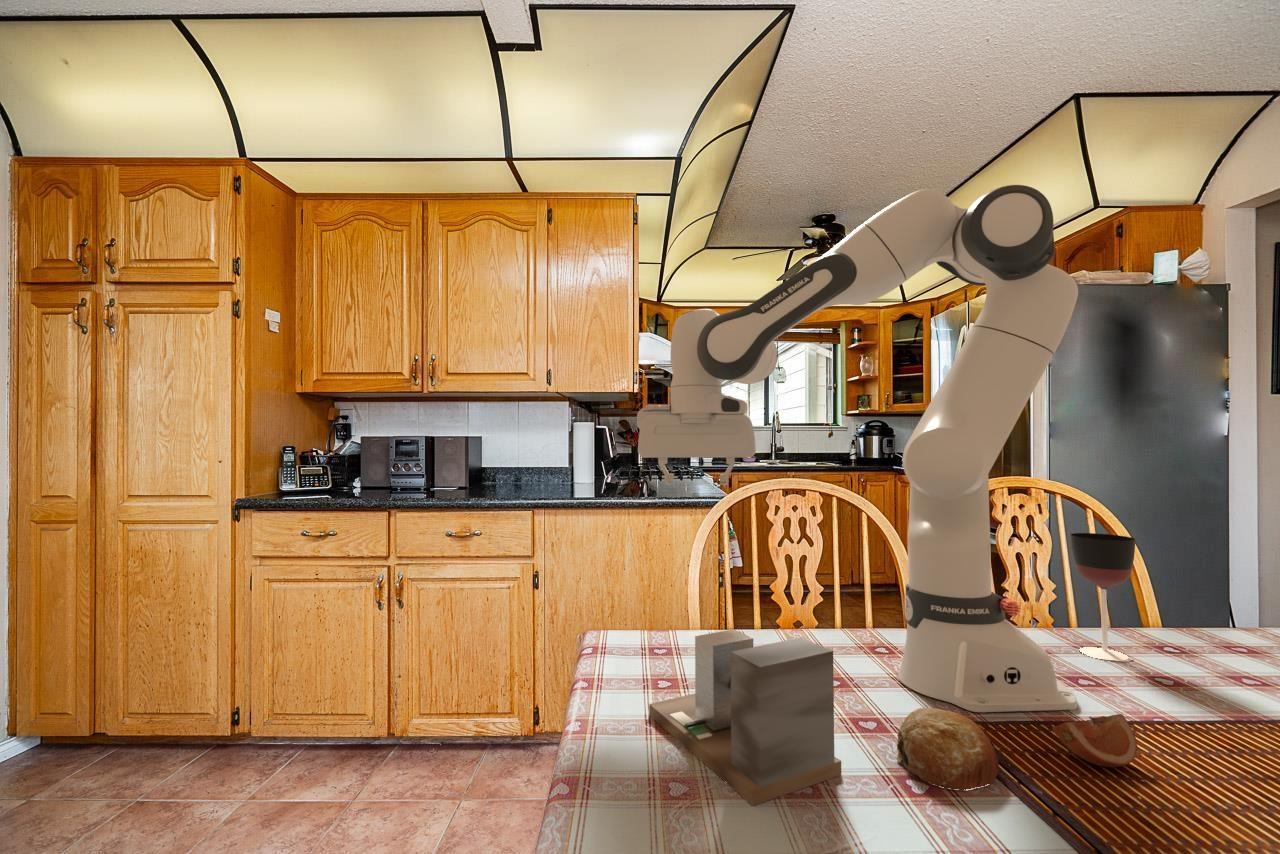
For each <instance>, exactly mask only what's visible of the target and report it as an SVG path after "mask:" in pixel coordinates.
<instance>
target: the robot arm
mask: <svg viewBox="0 0 1280 854" xmlns="http://www.w3.org/2000/svg"><path fill="white" fill-rule="evenodd" d="M1054 226H1055V225H1054V214H1053V209H1052V205H1051V203H1050V201H1049V200H1048V198H1047V197H1046V196H1045V195H1044V194H1043V193H1042V192H1041V191H1040V190H1038V189H1036V188H1034V187H1031V186H1028V185H1024V184H1010V185H1004V186H1001V187H997V188H995V189H993V190H990V191H989V192H987V193H984V194H983V195H982V196H980V197H979V198H978V199H976V200H975V201H974V202H973V203H972V204H971V205H970V207H969V208H962V207H959V206H957V205H955V204H954V203H953V201H952V200H951V199H950V198H949V197H948V196H947V195H945V194H944V193H942V192H940V191H939V190H936V189H934V188H933V189H932V188H922V189H918V190H915V191H914V192H911V193H909V194H907V195H905V196H904V197H902V198H900V199H898V200H897V201H895V202H893V203H891V204H889V205H888V206H887V207H884V208H883V209H882V210H881V211H879V212H877V213H876V214H875V215H873V216H872V217H870V218H869V219H868V220H865V222H864V223H862V224H861V225H859V226H858V227H856V229H854V230H853V231H852V232H851V233H849V234H848V235H847V236H846V237H844V238H843V239H842V240H840V241H839V242H838V243H836V244H835V245H834V246H833V247H832V248H830V249H829V250H828V251H826V252H825V253H824V254H823V255H821V256H820V257H819V258H817V259H816V260H815V261H814V262H812V263H810V264H808V265H807V266H805V267H804V268H802V269H800V270H799V271H798V272H797V273H795V274H793V275H792V276H790V277H788V279H786V280H784V281H783V282H782V283H780V284H778V285H777V286H775V287H773V288H772V289H771V290H770V291H768V292H767V293H765V294H764V295H762V296H761V297H760V298H758V299H757V300H755V301H754V302H752V303H750V304H748V305H747V306H744V307H742V308H740V309H739V308H738V309H736V310H732V311H727V312H724V313H721V314H720V313H718V312H717V311H716V310H714V309H710V308H702V309H701V308H698V309H693V310H689V311H687V312H685V313H683V314H681V315H679V316H678V317H677V318H676V319H675V321H674V323H673V326H672V331H671V332H672V333H671V338H670V339H671V340H670V367H671V370H672V379H671V383H670V404H659V405H653V404H647V405H645V406H644V407H642V408H641V409H639V410H638V412H637V414H636V427H637V428H638V430H639V434H638V441H637V443H638V444H637V453H638V455H639V456H640V457H641V458H657V460H658V461H657V462H658V466H659V468H660V470H661V472H662V473H663V474H664V484H665V485H674V484H675V480H674V477H675V473H669V470H668V469H667V466H666V464H668V458H725V459H726V465H728V466H727V469H726V470H725V472H724V473H720V474H719V485H726V486H727V485H729V475H730V473H731V471H732V470H733V468H734V466H735V465H736V464H735V462H736V461H735V459H736V458H752V457H754V455H755V454H756V438H755V432H754V425H753V422H752V420H751V419H750V417H749V416H747V415H746V414H747V412H748V408H749V407H748V403H747V402H746V401H745V400H743V399H739V398H735V397H733V396H732V395H731V396H729V395H726V394H723V393H722V384H723V382H724V381H732V382H733V383H738V384H744V385H751V384H756V383H759V382H763V380H765V379H767V378H768V377H769V376H770V375H772V373H773V371H774V370H775V368H776V365H777V363H778V354H779V353H778V349H777V346H776V344H775V342H774V341H775V340H776V339H777V338H779V337H781V336H782V335H784V333H786V332H788V331H789V330H791V329H793V328H794V327H795V326H797V325H798V324H800V323H801V322H802V321H804V320H806V319H808V318H809V317H810V316H812V315H814V314H815V313H817V312H819V311H820V310H823V309H825V308H828V307H832V306H838V305H853V306H854V305H855V306H863V305H867V304H869V303H871V302H873V301H876V300H878V299H880V298H881V297H884V296H885V295H887V294H889V293H891V292H893V291H894V290H895V289H897V288H898V287H900V286H902V285H903V283H905V282H907V281H908V280H909V279H911V278H912V277H914V276H915V275H916V274H918V273H920V272H921V271H922V270H924V269H925V268H927V267H928V266H930V265H932V264H935V263H936V264H937V265H938V266H939V267H941V268H943V269H944V270H946V271H947V272H948V273H950V274H952V275H954V276H955V277H956V278H958V279H959V280H961V281H962V282H964V283H967V284H969V285H974V286H980V287H981V286H983V287H984V286H985V291H986V295H985V301H984V304H983V307H982V309H981V310H980V313H979V315H978V316H977V318H976V320H975V321H974V323H973V325H972V327H971V329H970V331H969V332H968V335H967V336H966V339H965V340H964V342H963V343H962V345H961V347H960V350H959V351H958V353H957V355H956V357H955V359H954V361H953V362H952V365H951V367H950V369H949V370H948V372H947V374H946V376H945V378H944V380H943V381H942V382H941V384H940V385H939V387H938V389H937V391H936V392H935V394H934V395H933V397H932V399H931V401H930V402H929V404H928V405H927V408H926V409H925V411H924V412H923V414H922V416H921V418H920V420H919V421H918V423H917V424H916V427H915V428H914V430H913V432H912V434H911V436H910V438H909V439H908V441H907V442H906V444H905V447H904V449H903V453H902V467H903V472H904V475H905V476H906V478H907V480H908V481H909V484H910V485H909V505H908V506H909V507H908V509H909V511H908V523H907V524H908V525H907V567H908V568H907V570H908V571H907V573H908V576H907V577H908V579H907V580H908V583H907V584H905V593H904V594H905V595H904V616H905V622H906V623H907V624H906V625H907V626H906V628H907V629H906V638H905V645H904V650H903V656H902V661H901V664H900V668H899V670H898V675H897V678H898V679H899V681H900V682H901V683H902V684H903V685H904V686H906V687H907V688H909V689H911V690H913V691H914V692H917V693H919V694H922V695H924V696H927V697H930V698H933V699H937V700H940V701H943V702H947V703H950V704H953V705H954V706H955V705H956V706H958V707H960V708H962V709H965V710H967V711H969V712H974V713H994V712H996V713H999V712H1033V711H1063V710H1064V711H1067V710H1068V711H1069V710H1077V708H1078V702H1077V701H1078V700H1077V697H1076V695H1075V693H1073V691H1072V690H1071V689H1069V687H1068V686H1066V685H1065V684H1064V683H1062V682H1061V681H1059V680H1058V679H1057V677H1056V672H1055V668H1054V665H1053V662H1052V659H1051V657H1050V656H1049V655H1050V654H1048V653H1047V651H1046V650H1045V649H1044V648H1043V647H1042V646H1041V645H1040V644H1039V643H1037V642H1036V641H1034V640H1033V639H1032V638H1031V637H1030V636H1028V635H1027V634H1026V633H1025V632H1024V631H1022V630H1021V629H1020V628H1018V627H1016V625H1014V624H1012V623H1011V622H1010V621H1008V619H1006V614H1008V615H1009V616H1010V617H1011V616H1012V617H1015V616H1018V615H1019V614H1020V613H1021V605H1020V604H1019V603H1018V602H1016V601H1014V600H1013V599H1011V598H1003V597H1002V596H1000V595H998V594H997V593H996V592H993V591H992V572H991V571H992V562H991V561H992V560H991V559H992V558H991V556H992V555H991V525H990V524H991V523H990V520H991V519H990V518H991V517H990V490H989V489H990V487H989V486H990V483H989V474H990V471H991V470H992V468H993V466H994V464H995V462H996V461H997V459H998V457H999V455H1000V453H1001V451H1002V449H1003V448H1004V446H1005V444H1006V442H1007V440H1008V438H1009V436H1010V434H1011V432H1012V431H1013V429H1014V428H1015V425H1016V424H1017V421H1018V420H1019V418H1020V416H1021V414H1022V412H1023V410H1024V408H1025V407H1026V405H1027V403H1028V401H1029V399H1030V398H1031V397H1032V394H1033V392H1034V390H1035V389H1036V387H1037V385H1038V383H1039V381H1040V380H1041V378H1042V376H1043V374H1044V373H1045V371H1046V370H1047V368H1048V366H1049V364H1050V362H1051V361H1052V358H1053V357H1054V354H1056V351H1057V349H1058V347H1059V346H1060V344H1061V341H1062V340H1063V338H1064V335H1065V334H1066V330H1067V329H1068V326H1069V324H1070V321H1071V318H1072V316H1073V312H1074V310H1075V307H1076V303H1077V300H1078V296H1079V288H1078V284H1077V281H1076V280H1075V279H1074V278H1073V277H1072V276H1071V275H1070V274H1069V273H1068V272H1066V271H1064V270H1063V269H1061V268H1059V267H1056V266H1055V265H1051V264H1049V263H1050V262H1051V261H1052V260H1053V258H1054V257H1055V254H1056V248H1055V247H1056V246H1055V239H1054V238H1055V236H1054Z"/></svg>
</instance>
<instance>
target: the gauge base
mask: <svg viewBox="0 0 1280 854" xmlns="http://www.w3.org/2000/svg"><path fill="white" fill-rule="evenodd" d="M834 679H835V678H834V651H833V650H831V649H829V648H827V647H824V646H822V645H819V644H817V643H815V642H813V641H810V640H808V639H806V638H804V637H797V638H793V639H788V640H782V641H777V642H772V643H767V644H762V645H758V646H753V647H751V648H746V649H741V650H736V651H731V726H729V727H726V728H722V729H718V730H714V731H713V730H712V729H711V728H709V727H708V726H707V725H706V724H701V725H697V726H693V727H689V728H687V727H685V724H686V723H690V722H694V721H697V720H699V719H698V718H696V709H695V693H692V694H687V695H683V696H682V695H681V696H680V697H679V696H678V697H674V698H669V699H665V700H662V701H661V700H660V701H656V702H653V703H652V702H651V703H649V705H648V706H649V707H648V708H649V711H648V712H649V713H648V714H649V715H648V716H649V717H651V718H652V719H653V720H654V721H655V722H656V723H657V724H659V725H660V726H661V727H662V728H663V729H664V730H665V731H666V732H668V734H669V735H671V736H672V737H673V738H675V739H676V741H678V742H679V743H680V744H681V745H683V747H685V748H686V749H687V750H688V751H689V752H690V753H692V754H693V755H694V756H695V757H696V758H698V759H699V761H701V762H702V763H703V764H704V765H706V766H707V767H708V768H709V769H710V770H711V771H712V772H714V774H716V775H717V776H718V777H719V778H720V779H721V780H723V781H724V782H725V783H726V784H727V785H729V786H730V787H731V788H732V789H733V790H734V791H735V792H737V793H738V794H739V795H740V796H741V797H742V798H743V799H744V800H745V801H747V802H748V803H749V804H750V805H751V806H753V807H754V806H756V805H760V804H762V803H764V802H768V801H771V800H774V799H777V798H780V797H782V796H785V795H788V794H790V793H794V792H797V791H799V790H802V789H805V788H809V787H810V786H814V785H816V784H820V783H822V782H824V781H828V780H831V779H833V778H836V777H839V776H842V760H840V759H839V758H838V757H836V756H835V707H834V706H835V705H834V704H835V702H834V701H835V697H834V696H835V694H834V693H835V691H834V690H835V687H834V685H835V684H834Z"/></svg>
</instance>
